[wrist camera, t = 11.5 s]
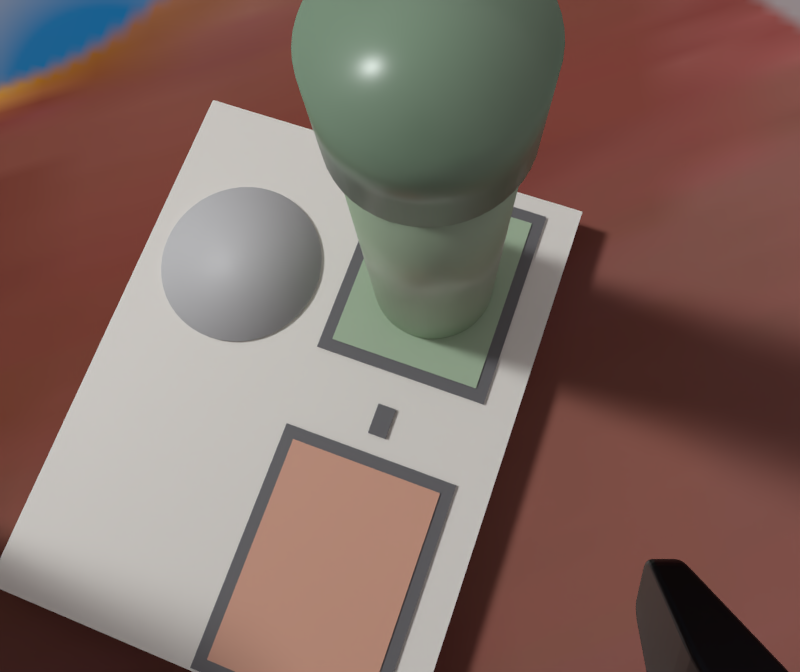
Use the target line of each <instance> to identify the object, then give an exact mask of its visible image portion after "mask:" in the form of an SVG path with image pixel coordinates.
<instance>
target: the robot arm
mask: <svg viewBox="0 0 800 672" xmlns="http://www.w3.org/2000/svg"><path fill="white" fill-rule="evenodd" d="M636 617H637V624H638V629H639V634H640V639H641V645H642V650H643V655H644V660H645V666H646V671H647V672H788V671H787V670H786V669H785V667H784V666H783V665H782V664H781V663H780V662H779V661H778V660H777V659H776V658H775V657H774V656H773V655H772V654H771V653H770V652H769V651H768V650H767V649H766V648H765V646H764V645H763V644H762V643H761V642H760V641H759V640H758V639H757V638H756V637H755V636H754V635H753V634H752V633H751V632H750V631H749V630H748V629H747V628H746V627H745V625H744V624H743V623H742V622H741V621H740V620H739V619H738V618H737V617H736V616H735V615H734V614H733V613H732V612H731V611H730V610H729V609H728V608H727V607H726V606H725V604H724V603H723V602H722V601H721V600H720V599H719V598H718V597H717V596H716V595H715V594H714V593H713V592H712V591H711V590H710V589H709V588H708V587H707V586H706V584H705V583H704V582H703V581H702V580H701V579H700V578H699V577H698V576H697V575H696V574H695V573H694V572H693V571H692V570H691V569H690V568H689V567H688V566H687V565H686V564H685V563H684V562H682V561H680V560H677V559H651V560H648V561H647V562H646V563H645V566H644V569H643V573H642V578H641V582H640V587H639V591H638V596H637V600H636Z"/></svg>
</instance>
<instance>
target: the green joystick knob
mask: <svg viewBox="0 0 800 672" xmlns="http://www.w3.org/2000/svg"><path fill="white" fill-rule="evenodd" d="M564 47H565V33H564V24H563V19H562V14H561V11H560V8H559V5H558V2H557V0H303V1H302V3H301V6H300V8H299V11H298V13H297V16H296V19H295V24H294V28H293V32H292V44H291V51H292V63H293V68H294V72H295V77H296V80H297V83H298V86H299V89H300V92H301V95H302V98H303V101H304V104H305V107H306V110H307V113H308V116H309V119H310V122H311V125H312V128H313V131H314V134H315V136H316V139H317V142H318V145H319V148H320V151H321V154H322V157H323V160H324V162H325V165H326V168H327V170H328V171H329V173H330V175H331V177H332V179H333V180H334V182H335V183H336V184H337V185H338V187H339V188H340V189H341V191H342V192H343V193H344V195H345V198H346V201H347V204H348V208H349V211H350V214H351V217H352V221H353V224H354V227H355V231H356V234H357V237H358V240H359V244H360V247H361V250H362V253H363V257H364V260H365V263H366V267H367V270H368V273H369V276H370V280H371V283H372V286H373V289H374V293H375V296H376V299H377V302H378V304H379V306H380V308H381V310H382V312H383V313H384V315H385V316H386V317H387V319H388V320H389V321H390V322H391V323H392V324H394V325H395V326H396V327H397V328H399V329H400V330H402V331H404V332H406V333H408V334H410V335H413V336H416V337H420V338H427V339H439V338H446V337H450V336H453V335H456V334H459V333H461V332H463V331H464V330H466V329H468V328H469V327H470V326H472V325H473V324H474V323H475V322H476V321H477V320H478V319H479V318H480V317H481V316H482V314H483V313H484V311H485V310H486V308H487V306H488V304H489V302H490V299H491V295H492V292H493V288H494V284H495V280H496V275H497V271H498V267H499V263H500V259H501V255H502V251H503V247H504V243H505V239H506V235H507V231H508V227H509V223H510V219H511V215H512V211H513V207H514V203H515V199H516V195H517V191H518V186H519V185H520V184H521V183H522V182H523V180H524V179H525V177H526V176H527V174H528V172H529V171H530V169H531V167H532V165H533V162H534V160H535V158H536V155H537V152H538V148H539V145H540V141H541V137H542V134H543V130H544V127H545V123H546V119H547V116H548V112H549V109H550V105H551V101H552V98H553V94H554V90H555V87H556V83H557V80H558V76H559V72H560V69H561V65H562V62H563V55H564Z"/></svg>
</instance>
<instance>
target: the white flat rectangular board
mask: <svg viewBox="0 0 800 672" xmlns="http://www.w3.org/2000/svg"><path fill="white" fill-rule="evenodd" d="M581 215H582V212H581V211H578V210H575V209H571V208H568V207H565V206H562V205H558V204H555V203H552V202H548V201H545V200H542V199H538V198H535V197H532V196H529V195H525V194H522V193H519V192H517V195H516V199H515V203H514V207H513V211H512V215H511V219H510V223H509V227H508V231H507V235H506V239H505V243H504V247H503V251H502V255H501V259H500V263H499V267H498V271H497V275H496V280H495V284H494V288H493V292H492V295H491V299H490V302H489V304H488V306H487V308H486V310H485V311H484V313H483V314H482V316H481V317H480V318H479V319H478V320H477V321H476V322H475V323H474V324H473V325H472V326H470V327H469V328H468V329H466V330H464V331H463V332H461V333H459V334H456V335H453V336H450V337H446V338H439V339H427V338H420V337H416V336H413V335H410V334H408V333H406V332H404V331H402V330H400V329H399V328H397V327H396V326H395V325H394V324H392V323H391V322H390V321H389V320H388V319H387V317H386V316H385V315H384V313H383V312H382V310H381V308H380V306H379V304H378V302H377V299H376V296H375V293H374V289H373V286H372V283H371V280H370V276H369V273H368V270H367V267H366V263H365V260H364V257H363V253H362V250H361V247H360V244H359V240H358V237H357V234H356V231H355V227H354V224H353V221H352V217H351V214H350V211H349V208H348V204H347V201H346V198H345V195H344V193H343V192H342V191H341V189H340V188H339V187H338V185H337V184H336V183H335V182H334V180H333V179H332V177H331V175H330V173H329V171H328V170H327V168H326V165H325V162H324V160H323V157H322V154H321V151H320V148H319V145H318V142H317V139H316V136H315V134H314V131H313V130H310V129H307V128H304V127H300V126H297V125H294V124H290V123H287V122H284V121H281V120H277V119H274V118H271V117H267V116H264V115H261V114H257V113H254V112H251V111H247V110H244V109H241V108H238V107H234V106H231V105H228V104H224V103H221V102H218V101H214V100H213V101H212V103H211V106H210V108H209V110H208V112H207V114H206V116H205V119H204V121H203V123H202V125H201V127H200V129H199V131H198V134H197V136H196V138H195V140H194V142H193V144H192V147H191V149H190V151H189V153H188V155H187V157H186V159H185V162H184V164H183V166H182V168H181V170H180V172H179V175H178V177H177V179H176V181H175V183H174V185H173V187H172V190H171V192H170V194H169V196H168V198H167V200H166V203H165V205H164V207H163V209H162V211H161V213H160V215H159V218H158V220H157V222H156V224H155V226H154V228H153V230H152V233H151V235H150V237H149V239H148V241H147V243H146V246H145V248H144V250H143V252H142V254H141V256H140V258H139V261H138V263H137V265H136V267H135V269H134V271H133V274H132V276H131V278H130V280H129V282H128V284H127V286H126V289H125V291H124V293H123V295H122V297H121V299H120V302H119V304H118V306H117V308H116V310H115V312H114V314H113V317H112V319H111V321H110V323H109V325H108V327H107V330H106V332H105V334H104V336H103V338H102V340H101V342H100V345H99V347H98V349H97V351H96V353H95V355H94V358H93V360H92V362H91V364H90V366H89V368H88V370H87V373H86V375H85V377H84V379H83V381H82V383H81V386H80V388H79V390H78V392H77V394H76V396H75V398H74V401H73V403H72V405H71V407H70V409H69V411H68V413H67V416H66V418H65V420H64V422H63V424H62V426H61V429H60V431H59V433H58V435H57V437H56V439H55V441H54V444H53V446H52V448H51V450H50V452H49V454H48V457H47V459H46V461H45V463H44V465H43V467H42V469H41V472H40V474H39V476H38V478H37V480H36V482H35V485H34V487H33V489H32V491H31V493H30V495H29V497H28V500H27V502H26V504H25V506H24V508H23V510H22V513H21V515H20V517H19V519H18V521H17V523H16V525H15V528H14V530H13V532H12V534H11V536H10V538H9V541H8V543H7V545H6V547H5V549H4V551H3V553H2V556H1V558H0V589H1V590H3V591H6V592H8V593H10V594H13V595H15V596H17V597H20V598H22V599H24V600H27V601H29V602H31V603H34V604H36V605H38V606H41V607H43V608H45V609H48V610H50V611H52V612H55V613H57V614H59V615H62V616H64V617H66V618H69V619H71V620H73V621H76V622H78V623H80V624H83V625H85V626H87V627H90V628H92V629H94V630H97V631H99V632H101V633H104V634H106V635H108V636H111V637H113V638H115V639H118V640H120V641H122V642H125V643H127V644H129V645H132V646H134V647H136V648H139V649H141V650H143V651H146V652H148V653H150V654H153V655H155V656H157V657H160V658H162V659H164V660H167V661H169V662H171V663H174V664H176V665H178V666H181V667H183V668H185V669H188V670H190V671H192V672H434V669H435V665H436V662H437V659H438V656H439V653H440V650H441V647H442V644H443V641H444V638H445V635H446V632H447V628H448V625H449V622H450V619H451V616H452V613H453V610H454V607H455V604H456V601H457V598H458V594H459V591H460V588H461V585H462V582H463V579H464V576H465V573H466V570H467V567H468V564H469V561H470V557H471V554H472V551H473V548H474V545H475V542H476V539H477V536H478V533H479V530H480V527H481V524H482V520H483V517H484V514H485V511H486V508H487V505H488V502H489V499H490V496H491V493H492V490H493V486H494V483H495V480H496V477H497V474H498V471H499V468H500V465H501V462H502V459H503V456H504V453H505V449H506V446H507V443H508V440H509V437H510V434H511V431H512V428H513V425H514V422H515V419H516V416H517V412H518V409H519V406H520V403H521V400H522V397H523V394H524V391H525V388H526V385H527V382H528V378H529V375H530V372H531V369H532V366H533V363H534V360H535V357H536V354H537V351H538V348H539V345H540V341H541V338H542V335H543V332H544V329H545V326H546V323H547V320H548V317H549V314H550V311H551V308H552V304H553V301H554V298H555V295H556V292H557V289H558V286H559V283H560V280H561V277H562V274H563V270H564V267H565V264H566V261H567V258H568V255H569V252H570V249H571V246H572V243H573V240H574V237H575V233H576V230H577V227H578V224H579V221H580V218H581Z"/></svg>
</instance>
